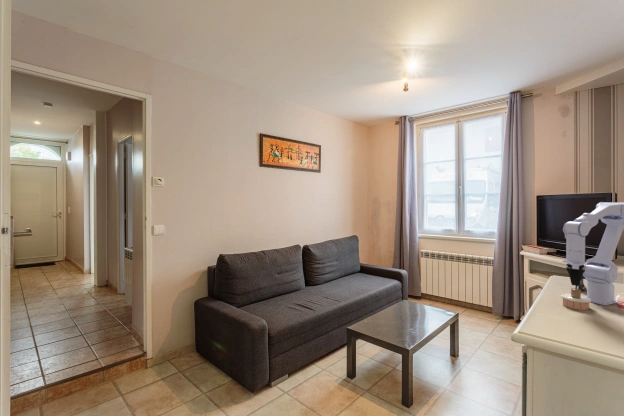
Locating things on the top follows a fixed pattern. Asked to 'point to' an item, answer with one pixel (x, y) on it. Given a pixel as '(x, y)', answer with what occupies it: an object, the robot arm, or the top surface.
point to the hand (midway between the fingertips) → (575, 283)
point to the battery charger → (581, 284)
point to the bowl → (576, 305)
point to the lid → (576, 296)
